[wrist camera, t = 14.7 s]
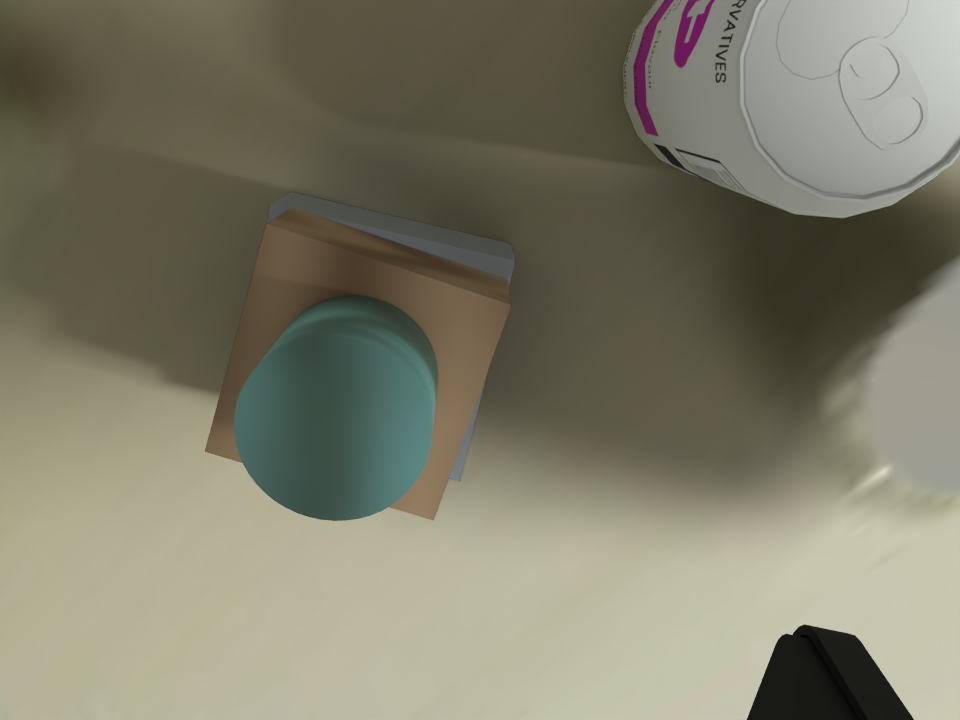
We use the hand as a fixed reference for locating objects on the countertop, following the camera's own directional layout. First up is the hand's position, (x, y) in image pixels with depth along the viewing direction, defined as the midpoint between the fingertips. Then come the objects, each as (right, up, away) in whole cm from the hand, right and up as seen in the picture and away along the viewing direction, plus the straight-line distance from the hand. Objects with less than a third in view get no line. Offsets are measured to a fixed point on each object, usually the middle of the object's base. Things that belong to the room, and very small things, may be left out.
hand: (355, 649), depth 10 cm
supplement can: (+11, +15, +27) cm, 33 cm away
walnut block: (-3, +4, +26) cm, 27 cm away
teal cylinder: (-3, +3, +22) cm, 22 cm away
